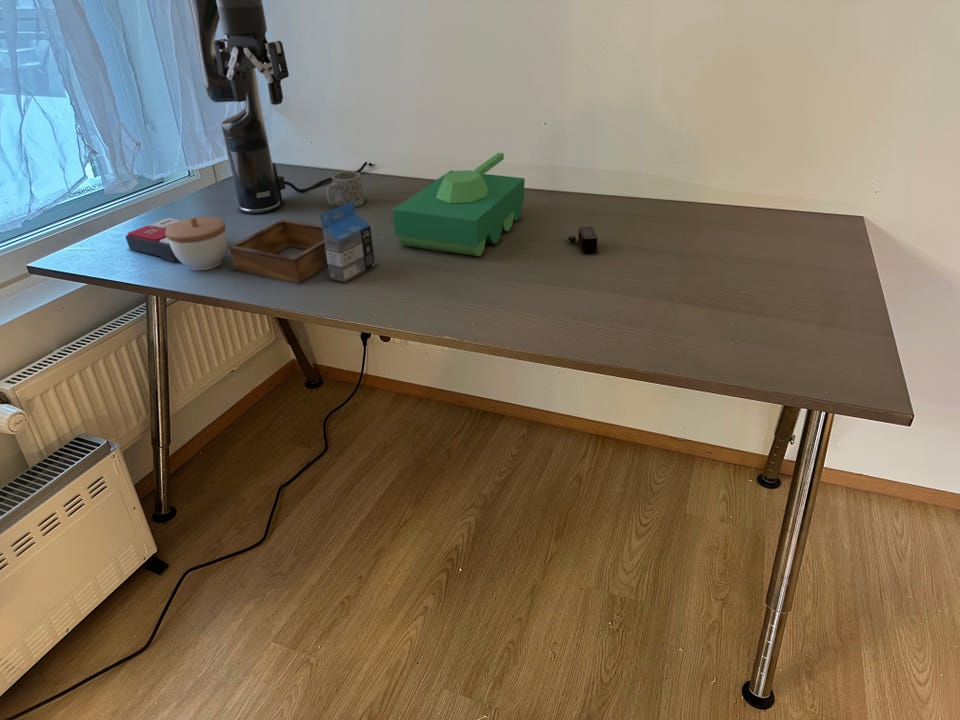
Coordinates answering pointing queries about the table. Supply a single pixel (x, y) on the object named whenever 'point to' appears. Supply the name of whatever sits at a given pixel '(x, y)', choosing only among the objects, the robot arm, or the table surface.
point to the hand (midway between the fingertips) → (258, 102)
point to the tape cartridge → (347, 243)
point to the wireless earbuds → (586, 239)
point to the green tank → (461, 210)
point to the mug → (346, 189)
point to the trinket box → (198, 242)
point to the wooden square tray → (263, 246)
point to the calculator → (153, 239)
